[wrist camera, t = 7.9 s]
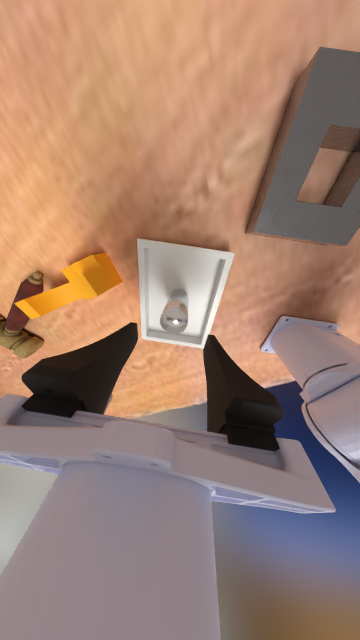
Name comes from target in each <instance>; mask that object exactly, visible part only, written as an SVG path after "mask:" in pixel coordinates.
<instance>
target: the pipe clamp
mask: <svg viewBox="0 0 360 640" xmlns="http://www.w3.org/2000/svg"><path fill="white" fill-rule="evenodd" d="M61 271H62V273H63V274H64V275H65V277H66V278H67V279H68V280H69V283H67V284H64V285H62V286H59V287H57V288H54V289H51V290H49V291H46V292H43V293H40V294H38V295H35V296H32V297H29V298H26V299H23V300H21V301H19V302H16V303H14V304H15V305H16V306H18V307H19V308H20V309H21V310H22V311H23V312H24V313H25V314H26V315H27V316H28V317H29V318H30V319H34V318H37V317H40V316H42V315H44V314H46V313H48V312H50V311H53V310H55V309H57V308H59V307H61V306H64V305H66V304H68V303H71V302H73V301H75V300H78V299H80V298H84V299H85V300H88V299H90V298H93V297H96V296H99V295H100V294H102V293H104V292H105V291H107V290H109V289H111V288H112V287H114V286H116V285H118V284H119V283H121V282H122V280H121V278H120V276H119V274H118V273H117V271H116V269H115V267H114V266H113V264H112V262H111V260H110V258H109V257H108V255H107V253H101V254H94V255H91V256H88V257H86V258H84V259H82V260H80V261H78V262H75V263H73V264H71V265H70V266H69V267H67V268H65V269H63V270H61Z"/></svg>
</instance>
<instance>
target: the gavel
mask: <svg viewBox="0 0 360 640" xmlns="http://www.w3.org/2000/svg"><path fill="white" fill-rule="evenodd" d="M41 278H42V275H41V274H40V273H38V272H35V273H33V276H29V277H28V279H26V280H24V281H23V282H21V284H20V287H19V289H18V292H17V294H16V297H15V299H14V302H13V304H12V307H11V309H10V312H9V314H8V317H7V319H6V322H5V318H3V317H1V316H0V345H2V346H4V347H6V348H8V349H12V350H14V352H13V353H14V354H16V355H18V356H20V357H22V358H26V357H28V356H30V355H32V354H33V353H35V352H36V351H37V350H38V349H39V348H41V347H42V346H43V344H44V341H43V340H42V339H40V338H38V337H36V336H35V337H32V336H30V334H28V333H26V332H24V331H23V330H22V328H23V327H24V326H25V325H26V323H27V321H28V319H29V317H28V316H27V315H26V314H25V313H24V312H23V311H22V310H21V309H20V308H19V307H18V306H16V305H15V304H14V303H16V302H19V301H21V300H23V299H26V298H29V297H32V296H35V295H38V294H40V293H42V291H43V285H42V282H43V281H42V279H41Z"/></svg>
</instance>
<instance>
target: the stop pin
mask: <svg viewBox="0 0 360 640" xmlns="http://www.w3.org/2000/svg"><path fill="white" fill-rule="evenodd" d="M188 304H189V297H188V294H187V293H186V292H185V291H183V290H181V289H176V290H174V291H172V292H171V293H170V295H169V298H168V300H167V303H166V305H165V308H164V310H163V312H162V315H161V317H160V325H161V327H162V328H163V329H164V330H165V331H167V332H169V333H173V334H176V333H181V332H182V331H184V330H185V329H186V327H187V324H188Z"/></svg>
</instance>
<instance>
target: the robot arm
mask: <svg viewBox="0 0 360 640" xmlns="http://www.w3.org/2000/svg"><path fill="white" fill-rule="evenodd" d="M286 319H287V320H286ZM339 327H340V325H338V324H336V323H329V322H322V321H316V320H309V319H303V318H296V317H289V316H282V317H281V318H280V319H279V320H278V322H277V324H276V325H275V327H274V328H273V330H272V331H271V333H270V334H269V336H268V337H267V339H266V341H265V342H264V344H263V345H262V347H261V348H260V350H261V351H263V352H270V353H276V354H277V355H278V357H279V358H280V359H281V361H282V362H283V363H284V365H285V366H286V367H287V369H288V370H289V371H290V373H291V374H292V375H293V377H294V378H295V379H296V381H297V382H298V384H299V385H300V386H301V388H302V389H303V392H301V393H300V395H301V397H302V398H303V399H304V401H305V402H304V404H303V405H302V412H303V415H304V418H305V421H306V423H307V425H308V426H309V428H310V430H311V431H312V432H313V434H314V435H315V437H316V438H317V439H318V440H319V441H320V442H321V443H322V445H323V446H324V447H325V448H326V449H327V450H328V451H329V452H330V453H331V454H333V455H334V456H335V457H336V458H337V459H338V460H339V461H340V462H341V463H342V464H343V465H344V466H345V467H346V468H347V469H348V470H349V471H350V472H351V473H352V474H353V476H354V477H355V478H356V479H357V480H358V481H359V483H360V345H358V344H357V343H355V342H354V341H352V340H350V339H349V338H347V337H346V336H344V335H342V334H341V333H339V332H338V331H336V330H337V329H338V328H339ZM137 340H138V330H137V323H132V322H131V323H129V324H128V325H126V326H124V327H123V328H121V329H119V330H118V331H116V332H114V333H113V334H111V335H109V336H107V337H105V338H103V339H101V340H99V341H97V342H95V343H93V344H90V345H88V346H85V347H83V348H80V349H77V350H74V351H71V352H68V353H65V354H61V355H57V356H53V357H49V358H45V359H42V360H41V361H39V362H38V363H37V364H35V365H34V366H33V367H32V368H30V369H29V370H28V371H26V372H25V373H24V374H23V375H22V381H23V383H24V384H25V385H26V386H27V387H28V388H29V389H30V390H31V391H32V392H33V393H34V394H33V395H32V396H31V397H30V398H27V397H25V396H20V395H14V394H6V395H4V396H3V397H2V398H1V399H0V463H5V464H10V465H15V466H20V467H25V468H30V469H35V470H40V471H44V472H50V473H54V474H59V475H58V477H57V479H56V480H55V482H54V484H53V486H52V487H51V489H50V491H49V492H48V494H47V496H46V498H45V499H44V501H43V503H42V505H41V506H40V508H39V510H38V512H37V513H36V515H35V517H34V518H33V520H32V522H31V524H30V526H29V527H28V529H27V531H26V532H25V534H24V536H23V538H22V539H21V541H20V543H19V544H18V546H17V548H16V550H15V551H14V553H13V555H12V557H11V559H10V560H9V562H8V564H7V565H6V567H5V569H4V571H3V572H2V574H1V576H0V640H220V627H219V626H220V625H219V611H218V596H217V581H216V566H215V552H214V538H213V522H212V507H211V501H218V502H226V503H234V504H242V505H250V506H258V507H265V508H272V509H279V510H285V511H292V512H298V513H323V512H335V510H336V509H335V508H334V506H333V504H332V502H331V500H330V498H329V496H328V494H327V492H326V491H325V489H324V487H323V485H322V483H321V481H320V479H319V477H318V475H317V474H316V472H315V470H314V468H313V466H312V464H311V462H310V460H309V458H308V457H307V455H306V453H305V451H304V449H303V447H302V445H301V443H300V442H299V441H296V440H290V439H284V438H277V439H276V437H275V435H274V433H275V428H274V426H273V424H275V423H276V422H277V421H278V420H280V419H281V418H282V417H283V414H284V412H283V410H282V408H281V406H280V404H279V402H278V400H277V399H276V397H275V396H274V395H272V394H271V393H270V392H268V391H267V390H266V389H264V388H263V387H261V386H260V385H259V384H258V383H256V382H255V381H254V380H253V379H251V378H250V377H249V376H248V375H247V374H246V373H245V372H243V371H242V370H241V369H240V368H239V367H238V366H237V365H236V364H235V362H234V361H233V360H232V359H231V358H230V357H229V355H228V354H227V353H226V352H225V350H224V349H223V348H222V346H221V345H220V343H219V342H218V340H217V339H216V337H215V336H214V335H209V334H208V336H207V339H206V343H205V346H204V349H203V356H204V366H205V373H206V381H207V405H208V409H207V415H208V416H207V432H206V431H200V430H193V429H188V428H182V427H176V426H169V425H163V424H157V423H151V422H145V421H138V420H133V419H127V418H120V417H114V416H108V415H103V414H104V411H105V408H106V406H107V403H108V400H109V398H110V395H111V393H112V390H113V388H114V386H115V383H116V381H117V379H118V377H119V374H120V372H121V370H122V368H123V366H124V365H125V363H126V361H127V360H128V358H129V356H130V354H131V353H132V351H133V349H134V347H135V345H136V343H137Z"/></svg>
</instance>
